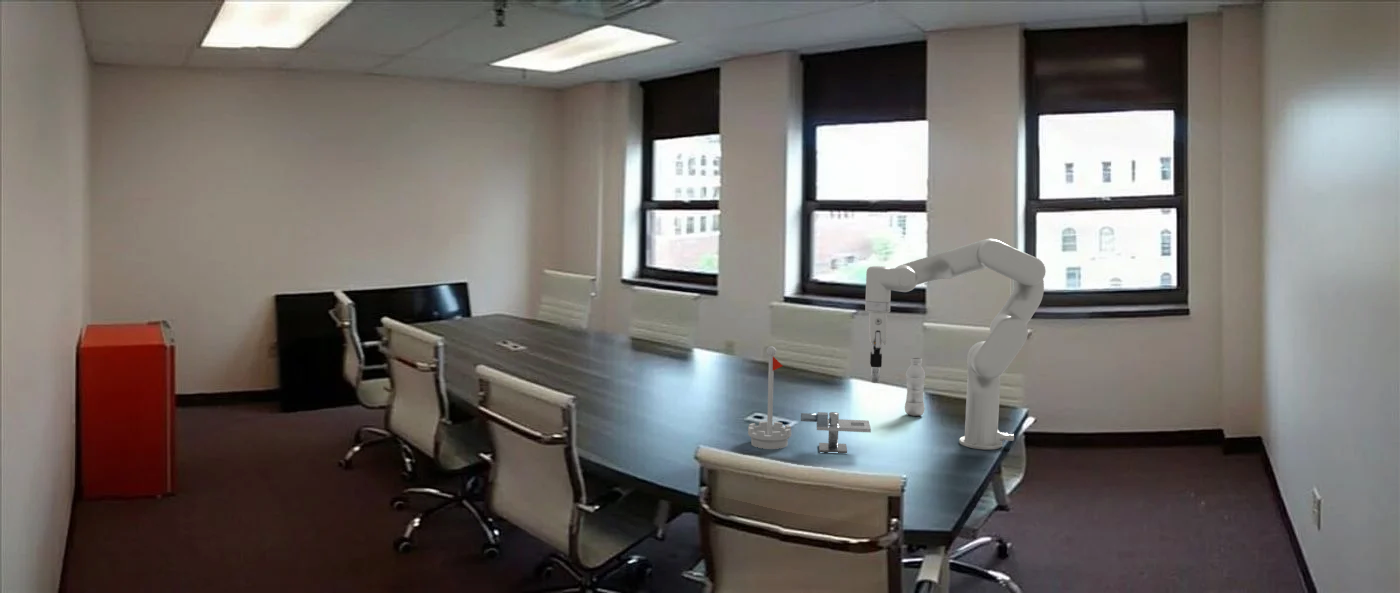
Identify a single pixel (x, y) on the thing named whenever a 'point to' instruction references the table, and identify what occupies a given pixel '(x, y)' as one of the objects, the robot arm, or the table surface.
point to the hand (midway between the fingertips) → (875, 365)
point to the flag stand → (770, 417)
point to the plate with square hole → (835, 429)
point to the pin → (875, 373)
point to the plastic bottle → (915, 388)
